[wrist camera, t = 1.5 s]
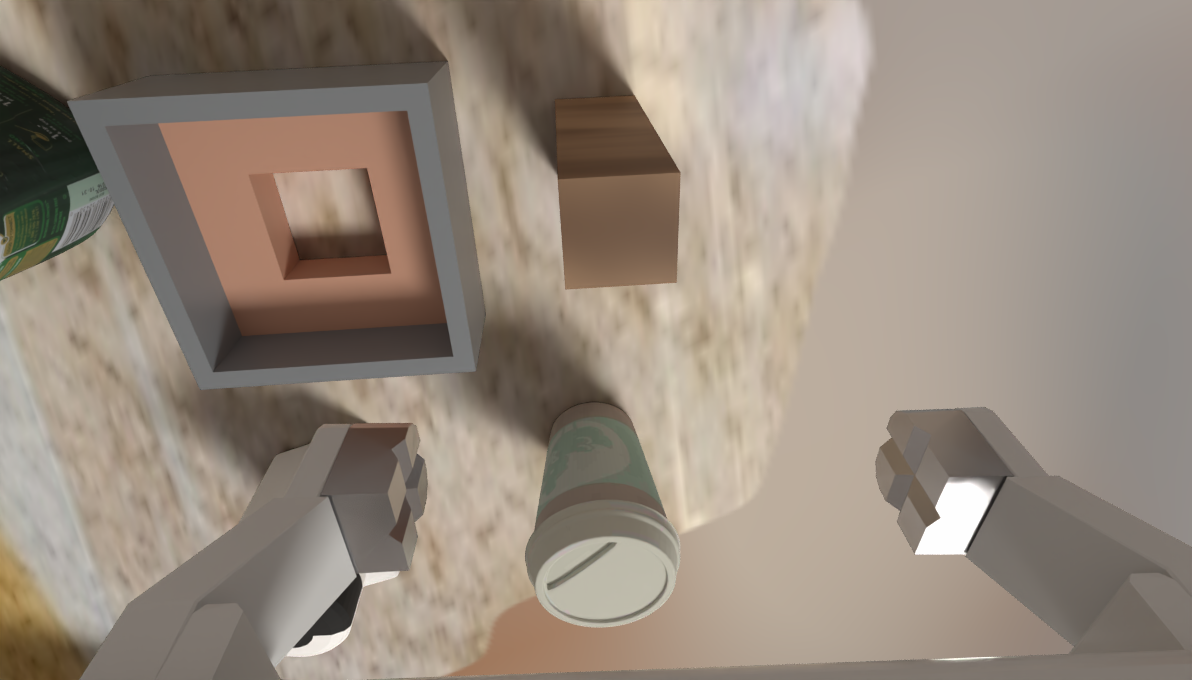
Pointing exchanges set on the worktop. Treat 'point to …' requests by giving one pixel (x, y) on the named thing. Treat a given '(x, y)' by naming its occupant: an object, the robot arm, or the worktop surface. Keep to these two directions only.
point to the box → (261, 231)
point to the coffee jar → (43, 178)
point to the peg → (615, 195)
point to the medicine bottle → (343, 609)
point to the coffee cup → (600, 524)
